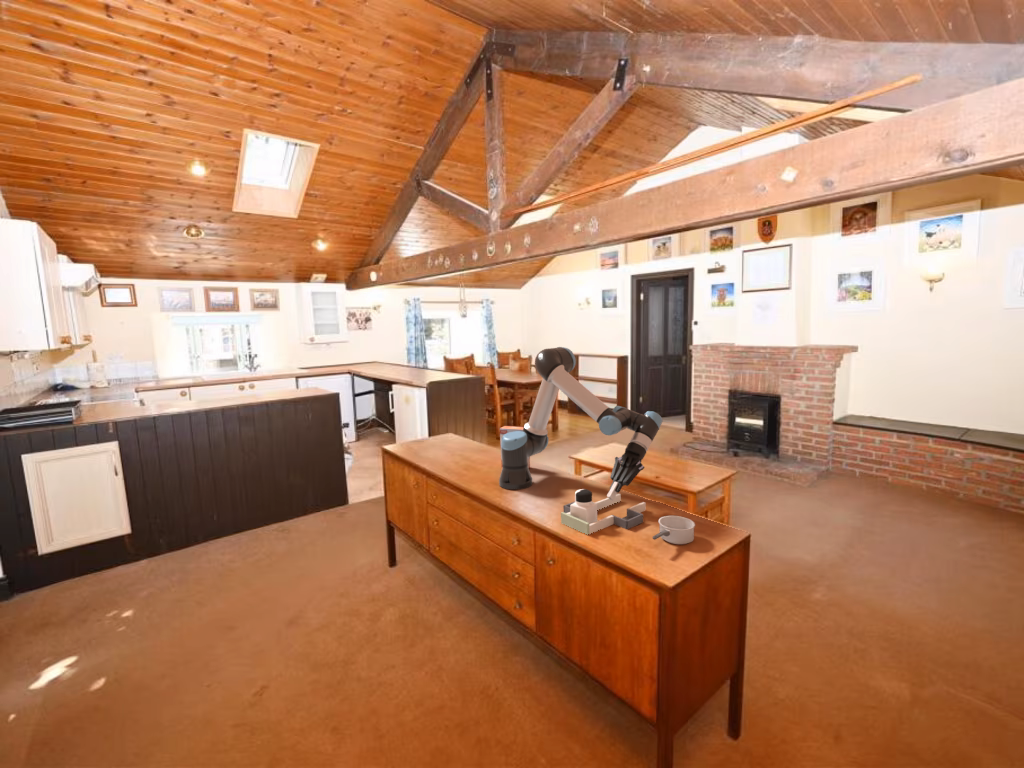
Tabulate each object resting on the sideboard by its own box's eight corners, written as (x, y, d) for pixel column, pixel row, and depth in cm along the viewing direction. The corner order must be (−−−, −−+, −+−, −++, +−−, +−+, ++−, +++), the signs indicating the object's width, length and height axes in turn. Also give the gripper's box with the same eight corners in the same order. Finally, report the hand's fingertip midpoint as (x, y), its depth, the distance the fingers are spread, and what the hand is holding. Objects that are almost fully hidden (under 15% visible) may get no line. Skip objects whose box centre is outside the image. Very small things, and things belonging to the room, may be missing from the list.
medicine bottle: (597, 522, 167) (597, 490, 165) (586, 528, 161) (586, 496, 160) (581, 517, 171) (580, 486, 170) (570, 523, 166) (569, 491, 165)
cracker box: (530, 467, 235) (529, 427, 232) (525, 470, 229) (524, 429, 227) (506, 464, 241) (504, 425, 239) (500, 467, 236) (499, 427, 233)
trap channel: (607, 496, 190) (607, 489, 190) (659, 514, 171) (659, 507, 170) (551, 517, 172) (551, 509, 172) (602, 540, 152) (602, 531, 152)
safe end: (563, 522, 167) (562, 511, 167) (589, 534, 157) (589, 523, 156) (561, 523, 167) (560, 512, 166) (587, 535, 156) (587, 524, 156)
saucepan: (637, 548, 146) (637, 531, 146) (669, 528, 160) (669, 512, 159) (671, 560, 138) (671, 543, 137) (701, 538, 152) (701, 522, 151)
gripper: (656, 455, 177) (628, 508, 169) (629, 448, 187) (601, 498, 179) (647, 444, 173) (618, 498, 165) (620, 438, 183) (591, 488, 175)
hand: (609, 498), depth 172 cm, fingers closed
